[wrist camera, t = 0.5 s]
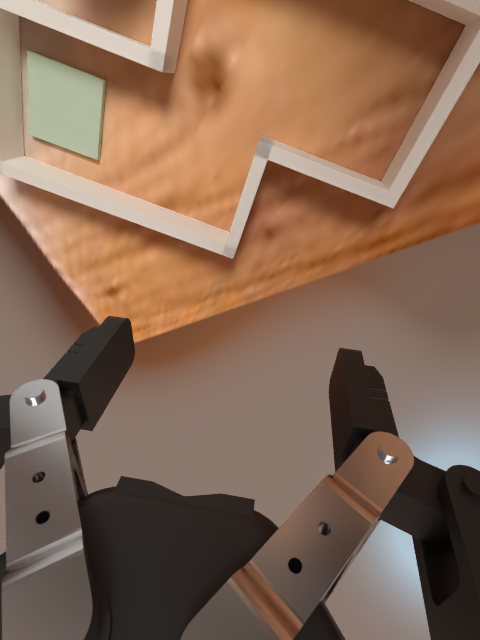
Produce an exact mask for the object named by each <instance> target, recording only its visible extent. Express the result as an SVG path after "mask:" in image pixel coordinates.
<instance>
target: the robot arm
mask: <svg viewBox="0 0 480 640" xmlns="http://www.w3.org/2000/svg"><path fill="white" fill-rule="evenodd" d="M134 355H135V347H134V341H133V334H132V327H131V322H130V320H129V319H128V318H121V317H114V316H108V317H107V318H106V319H105V320H104V322H103V323H102V324H101V325H100V326H99V328H98V327H93V328H91V329H90V330H88V331H86V332H85V333H83V334H81V336H80V337H79V338H78V339H77V340H76V341H75V343H74V345H72V346H71V347H70V348H69V350H68V352H67V353H65V354H64V355H63V357H62V358H61V359H60V360H59V361H58V362H57V364H56V365H55V366H54V367H53V368H52V369H51V371H50V372H49V373H48V374H47V375H46V376H45V378H44V379H43V380H35V381H32V382H29V383H26V384H24V385H23V386H21V387H20V388H18V389H17V390H16V391H15V392H14V393H13V394H12V395H3V396H0V469H1V468H2V466H3V465H4V463H5V509H6V511H5V512H6V552H4V553H3V554H1V555H0V640H345V638H344V636H343V635H342V633H341V631H340V629H339V628H338V626H337V624H336V623H335V621H334V619H333V617H332V616H331V614H330V612H329V610H328V608H327V607H326V605H325V604H326V602H327V601H328V599H329V598H330V596H331V595H332V593H333V592H334V590H335V589H336V587H337V586H338V584H339V582H340V581H341V579H342V578H343V576H344V575H345V573H346V572H347V570H348V568H349V567H350V565H351V564H352V562H353V561H354V559H355V558H356V556H357V555H358V553H359V552H360V550H361V549H362V547H363V546H364V544H365V543H366V541H367V540H368V538H369V537H370V535H371V534H372V532H373V531H374V529H375V528H376V526H377V525H378V523H379V522H380V520H383V521H385V522H387V523H389V524H391V525H393V526H395V527H397V528H399V529H401V530H403V531H404V532H406V533H409V534H410V535H412V538H413V543H414V549H415V554H416V559H417V565H418V570H419V576H420V581H421V587H422V593H423V598H424V603H425V609H426V615H427V621H428V626H429V632H430V637H431V640H480V471H478V470H476V469H474V468H472V467H469V466H465V465H455V466H452V467H450V468H449V469H448V470H447V471H444V470H442V469H439V468H437V467H434V466H432V465H430V464H428V463H425V462H423V461H421V460H419V459H418V458H416V457H415V456H413V453H412V451H411V449H410V448H409V446H408V445H407V444H406V443H405V442H404V441H403V440H401V439H400V438H399V436H398V432H397V429H396V425H395V421H394V418H393V414H392V410H391V406H390V403H389V401H388V395H387V392H386V388H385V384H384V380H383V377H382V376H381V375H380V373H379V372H378V371H377V370H376V368H375V367H373V366H366V365H364V360H363V355H362V352H361V351H359V350H351V349H344V348H340V349H339V351H338V354H337V357H336V361H335V364H334V368H333V372H332V375H331V378H330V384H329V401H330V412H331V425H332V437H333V449H334V462H335V473H334V474H333V475H332V476H331V475H327V476H326V477H325V478H324V479H323V480H322V481H321V482H320V483H319V484H318V485H317V486H316V488H315V489H314V490H313V491H312V492H311V493H310V494H309V496H308V497H307V498H306V499H305V500H304V501H303V502H302V504H300V505H299V507H298V508H297V509H296V510H295V511H294V512H293V513H292V514H291V516H290V517H289V518H288V519H287V520H286V521H285V522H284V524H282V526H281V527H280V528H278V527H277V526H276V525H275V524H274V523H273V522H272V521H271V520H269V519H268V518H267V517H265V516H264V515H262V514H261V513H259V512H257V511H255V510H254V502H255V500H253V499H248V498H243V497H237V496H231V495H226V494H213V495H200V496H182V495H180V494H178V493H176V492H173V491H171V490H169V489H167V488H165V487H163V486H161V485H159V484H156V483H155V482H152V481H146V480H141V479H135V478H129V477H124V476H121V478H120V480H119V482H118V484H117V486H116V487H111V488H105V489H102V490H99V491H96V492H93V493H91V494H89V495H88V491H87V488H86V484H85V479H84V474H83V469H82V465H81V459H80V454H79V450H78V445H77V440H76V438H75V437H76V435H77V434H78V432H79V430H80V429H83V430H89V431H93V429H94V427H95V426H96V424H97V422H98V420H99V419H100V417H101V415H102V414H103V412H104V410H105V409H106V407H107V405H108V404H109V402H110V400H111V398H112V397H113V395H114V393H115V392H116V390H117V389H118V387H119V385H120V383H121V382H122V380H123V378H124V377H125V375H126V373H127V372H128V370H129V368H130V367H131V365H132V362H133V360H134Z"/></svg>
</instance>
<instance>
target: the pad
mask: <svg viewBox="0 0 480 640" xmlns="http://www.w3.org/2000/svg"><path fill="white" fill-rule="evenodd" d="M27 73H28V109H29V135H32V136H34V137H37V138H40V139H42V140H45V141H48V142H50V143H53V144H56V145H58V146H61V147H64V148H66V149H69V150H72V151H74V152H77V153H80V154H82V155H85V156H88V157H90V158H93V159H96V160H99V159H100V153H101V141H102V129H103V117H104V105H105V93H106V80H104V79H102V78H99V77H97V76H94V75H92V74H89V73H86V72H84V71H81V70H79V69H76V68H74V67H71V66H69V65H66V64H64V63H61V62H58V61H56V60H53V59H51V58H48V57H46V56H43V55H41V54H38V53H35V52H33V51H29V50H27Z"/></svg>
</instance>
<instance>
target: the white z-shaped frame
mask: <svg viewBox="0 0 480 640" xmlns="http://www.w3.org/2000/svg"><path fill="white" fill-rule="evenodd" d="M408 1H411V2H413V3H415V4H418V5H420V6H422V7H425V8H427V9H429V10H431V11H434V12H436V13H438V14H441V15H443V16H445V17H448V18H450V19H452V20H455V21H457V22H459V23H462V24H464V25H466V26H465V28H464V30H463V31H462V33H461V35H460V37H459V39H458V41H457V43H456V44H455V46H454V48H453V50H452V52H451V54H450V55H449V57H448V59H447V61H446V63H445V65H444V66H443V68H442V70H441V72H440V74H439V76H438V77H437V79H436V81H435V83H434V85H433V87H432V88H431V90H430V92H429V94H428V96H427V98H426V99H425V101H424V103H423V105H422V107H421V109H420V111H419V112H418V114H417V116H416V118H415V120H414V122H413V123H412V125H411V127H410V129H409V131H408V133H407V134H406V136H405V138H404V140H403V142H402V144H401V145H400V147H399V149H398V151H397V153H396V155H395V156H394V158H393V160H392V162H391V164H390V166H389V167H388V169H387V171H386V173H385V175H384V177H383V179H382V180H381V181H378V180H376V179H373V178H371V177H368V176H366V175H363V174H360V173H358V172H355V171H353V170H350V169H348V168H345V167H343V166H340V165H338V164H335V163H332V162H330V161H327V160H325V159H322V158H320V157H317V156H315V155H312V154H310V153H307V152H304V151H302V150H299V149H297V148H294V147H292V146H289V145H287V144H284V143H282V142H279V141H276V140H274V139H271V138H269V137H266V136H264V135H263V136H262V137H261V138H260V140H259V143H258V146H257V149H256V152H255V155H254V158H253V161H252V164H251V167H250V170H249V173H248V177H247V180H246V183H245V186H244V189H243V192H242V195H241V198H240V201H239V204H238V207H237V211H236V214H235V217H234V220H233V223H232V226H231V229H230V232H228V231H226V230H223V229H220V228H218V227H215V226H212V225H209V224H207V223H204V222H201V221H199V220H196V219H193V218H191V217H188V216H185V215H182V214H180V213H177V212H174V211H172V210H169V209H166V208H164V207H161V206H158V205H156V204H153V203H150V202H147V201H145V200H142V199H139V198H137V197H134V196H131V195H129V194H126V193H123V192H121V191H118V190H115V189H112V188H110V187H107V186H104V185H102V184H99V183H96V182H94V181H91V180H88V179H85V178H83V177H80V176H77V175H75V174H72V173H69V172H67V171H64V170H61V169H59V168H56V167H53V166H50V165H48V164H45V163H42V162H40V161H37V160H34V159H32V158H29V157H26V156H24V137H23V110H22V82H21V55H20V28H19V16H22V17H24V18H27V19H29V20H32V21H34V22H37V23H39V24H42V25H44V26H47V27H49V28H52V29H54V30H57V31H59V32H62V33H64V34H67V35H69V36H72V37H74V38H77V39H80V40H82V41H85V42H87V43H90V44H92V45H95V46H97V47H100V48H102V49H105V50H107V51H110V52H112V53H115V54H117V55H120V56H122V57H125V58H127V59H130V60H132V61H135V62H137V63H140V64H142V65H145V66H147V67H150V68H153V69H155V70H158V71H160V72H164V73H175V71H176V65H177V59H178V54H179V48H180V42H181V37H182V31H183V25H184V20H185V14H186V8H187V3H188V0H157V4H156V11H155V18H154V26H153V33H152V40H151V46H149V45H146V44H144V43H141V42H139V41H136V40H134V39H131V38H129V37H126V36H124V35H121V34H119V33H116V32H114V31H111V30H109V29H106V28H104V27H101V26H99V25H96V24H94V23H91V22H89V21H86V20H84V19H81V18H79V17H76V16H74V15H71V14H69V13H66V12H64V11H61V10H59V9H56V8H54V7H51V6H49V5H46V4H44V3H41V2H39V1H36V0H0V174H2V175H5V176H8V177H11V178H13V179H16V180H19V181H22V182H24V183H27V184H30V185H32V186H35V187H38V188H41V189H43V190H46V191H49V192H52V193H54V194H57V195H60V196H63V197H65V198H68V199H71V200H73V201H76V202H79V203H82V204H84V205H87V206H90V207H93V208H95V209H98V210H101V211H104V212H106V213H109V214H112V215H114V216H117V217H120V218H123V219H125V220H128V221H131V222H134V223H136V224H139V225H142V226H144V227H147V228H150V229H153V230H155V231H158V232H161V233H164V234H166V235H169V236H172V237H175V238H177V239H180V240H183V241H185V242H188V243H191V244H194V245H196V246H199V247H202V248H205V249H207V250H210V251H213V252H216V253H218V254H221V255H224V256H226V257H229V258H232V259H233V258H234V255H235V253H236V250H237V247H238V245H239V242H240V239H241V236H242V233H243V230H244V227H245V224H246V222H247V219H248V216H249V213H250V210H251V207H252V204H253V201H254V199H255V196H256V193H257V190H258V187H259V184H260V181H261V178H262V176H263V173H264V170H265V167H266V164H267V161H268V160H270V161H272V162H275V163H277V164H280V165H282V166H285V167H288V168H290V169H293V170H295V171H298V172H300V173H303V174H306V175H308V176H311V177H313V178H316V179H318V180H321V181H324V182H326V183H329V184H331V185H334V186H337V187H339V188H342V189H344V190H347V191H349V192H352V193H355V194H357V195H360V196H362V197H365V198H367V199H370V200H373V201H375V202H378V203H380V204H383V205H385V206H388V207H391V208H393V209H394V207H395V205H396V203H397V202H398V200H399V198H400V197H401V195H402V193H403V192H404V190H405V188H406V187H407V185H408V183H409V181H410V180H411V178H412V176H413V175H414V173H415V171H416V170H417V168H418V166H419V165H420V163H421V161H422V159H423V158H424V156H425V154H426V153H427V151H428V149H429V148H430V146H431V144H432V142H433V141H434V139H435V137H436V136H437V134H438V132H439V131H440V129H441V127H442V126H443V124H444V122H445V120H446V119H447V117H448V115H449V114H450V112H451V110H452V109H453V107H454V105H455V104H456V102H457V100H458V98H459V97H460V95H461V93H462V92H463V90H464V88H465V87H466V85H467V83H468V82H469V80H470V78H471V76H472V75H473V73H474V71H475V70H476V68H477V66H478V65H479V63H480V0H408Z"/></svg>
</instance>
